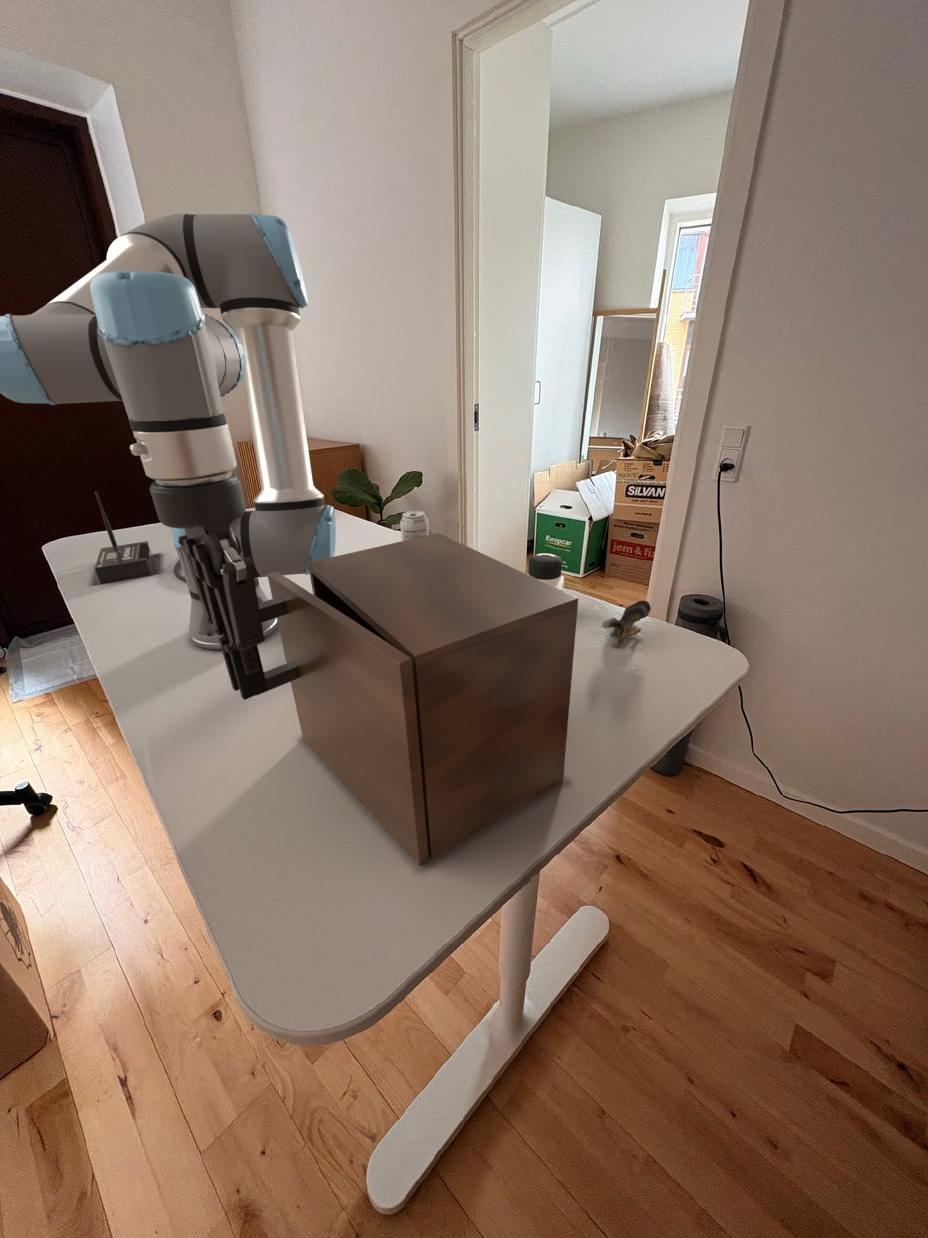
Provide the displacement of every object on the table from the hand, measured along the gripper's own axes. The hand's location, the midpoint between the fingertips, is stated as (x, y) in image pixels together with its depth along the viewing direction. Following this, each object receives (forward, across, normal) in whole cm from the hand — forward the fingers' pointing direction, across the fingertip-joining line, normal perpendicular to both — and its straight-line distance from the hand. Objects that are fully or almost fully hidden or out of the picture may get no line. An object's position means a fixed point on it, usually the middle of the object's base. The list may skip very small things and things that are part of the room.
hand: (250, 688), depth 58 cm
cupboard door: (+12, +10, +3) cm, 16 cm away
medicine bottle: (+13, -2, +56) cm, 58 cm away
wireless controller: (+13, -95, +7) cm, 96 cm away
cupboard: (+12, +12, +17) cm, 24 cm away
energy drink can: (+13, -34, +52) cm, 63 cm away
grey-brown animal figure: (+13, +14, +59) cm, 62 cm away
